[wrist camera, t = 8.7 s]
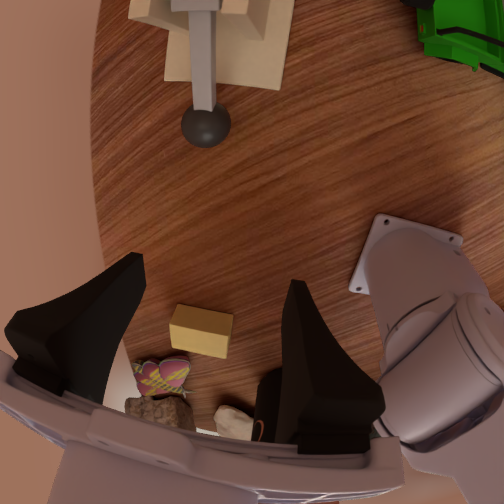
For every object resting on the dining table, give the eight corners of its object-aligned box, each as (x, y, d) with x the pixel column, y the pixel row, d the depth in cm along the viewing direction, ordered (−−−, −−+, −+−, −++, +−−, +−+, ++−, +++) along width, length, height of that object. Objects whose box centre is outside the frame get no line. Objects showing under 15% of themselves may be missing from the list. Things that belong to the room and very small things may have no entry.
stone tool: (240, 448, 55) (238, 467, 51) (190, 391, 42) (183, 417, 37) (297, 447, 53) (296, 466, 48) (271, 388, 39) (269, 418, 35)
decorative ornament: (151, 345, 31) (220, 383, 34) (156, 332, 33) (223, 370, 36) (115, 382, 40) (167, 410, 42) (120, 372, 41) (170, 400, 44)
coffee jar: (252, 362, 34) (231, 502, 19) (340, 359, 32) (345, 504, 17) (263, 400, 40) (249, 511, 25) (334, 398, 38) (334, 511, 23)
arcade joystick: (235, 131, 18) (224, 161, 17) (191, 126, 18) (177, 155, 17) (244, -45, 8) (229, -44, 6) (182, -43, 8) (156, -39, 6)
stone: (121, 374, 45) (201, 383, 45) (142, 428, 51) (210, 436, 51) (95, 427, 33) (189, 444, 33) (127, 475, 39) (203, 488, 39)
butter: (233, 314, 30) (228, 336, 27) (230, 338, 32) (226, 359, 29) (177, 303, 30) (169, 323, 27) (179, 327, 32) (171, 347, 30)
